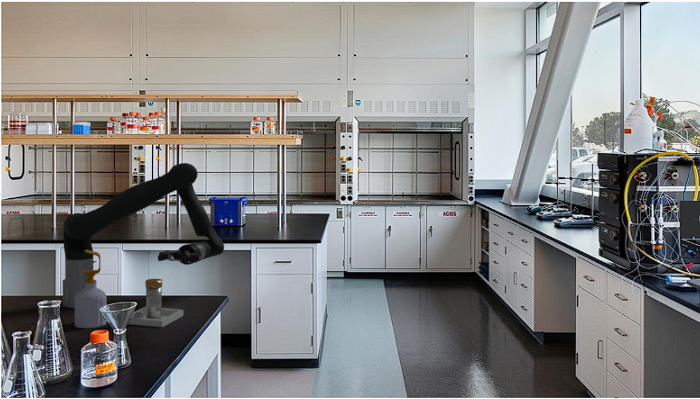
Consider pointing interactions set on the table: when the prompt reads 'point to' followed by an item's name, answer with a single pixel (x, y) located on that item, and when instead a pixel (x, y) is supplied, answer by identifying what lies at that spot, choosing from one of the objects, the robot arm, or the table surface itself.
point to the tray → (166, 318)
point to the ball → (138, 315)
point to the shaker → (153, 298)
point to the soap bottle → (90, 301)
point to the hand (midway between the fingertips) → (170, 259)
